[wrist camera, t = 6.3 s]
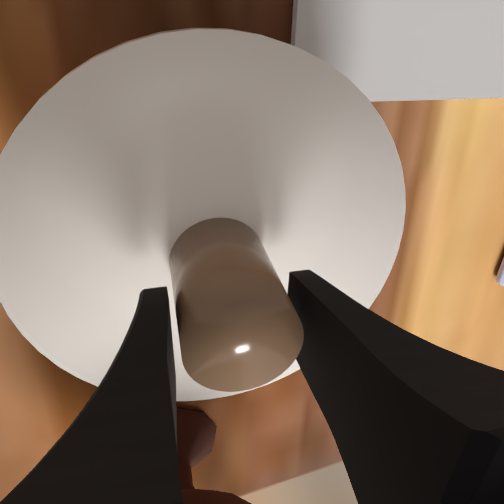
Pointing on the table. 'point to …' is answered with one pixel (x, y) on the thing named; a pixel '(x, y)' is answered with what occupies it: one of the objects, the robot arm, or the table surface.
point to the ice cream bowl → (197, 457)
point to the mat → (408, 45)
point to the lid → (194, 204)
